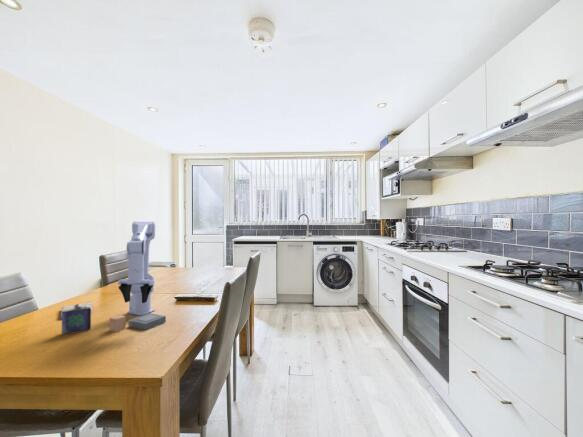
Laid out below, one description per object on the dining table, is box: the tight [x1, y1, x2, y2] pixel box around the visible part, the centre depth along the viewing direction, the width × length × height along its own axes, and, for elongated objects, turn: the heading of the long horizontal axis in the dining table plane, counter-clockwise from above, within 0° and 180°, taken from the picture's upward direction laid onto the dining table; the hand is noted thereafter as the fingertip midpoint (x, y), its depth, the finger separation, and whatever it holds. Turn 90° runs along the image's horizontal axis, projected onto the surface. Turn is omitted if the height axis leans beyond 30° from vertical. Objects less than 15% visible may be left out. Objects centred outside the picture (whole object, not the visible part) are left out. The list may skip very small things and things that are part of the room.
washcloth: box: [60, 301, 93, 321], centre depth 134 cm, size 12×18×3 cm, turn 40°
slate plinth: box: [128, 312, 167, 331], centre depth 118 cm, size 10×10×3 cm
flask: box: [61, 303, 92, 335], centre depth 111 cm, size 9×3×11 cm, turn 121°
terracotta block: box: [109, 314, 127, 333], centre depth 113 cm, size 4×4×5 cm
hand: (135, 302), depth 115 cm, fingers open, 7 cm apart
